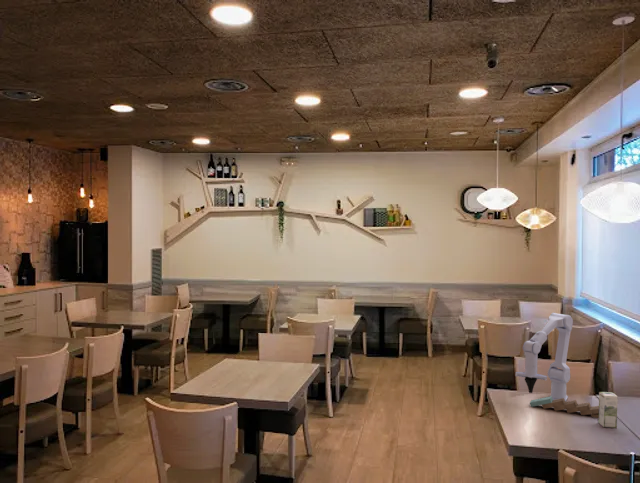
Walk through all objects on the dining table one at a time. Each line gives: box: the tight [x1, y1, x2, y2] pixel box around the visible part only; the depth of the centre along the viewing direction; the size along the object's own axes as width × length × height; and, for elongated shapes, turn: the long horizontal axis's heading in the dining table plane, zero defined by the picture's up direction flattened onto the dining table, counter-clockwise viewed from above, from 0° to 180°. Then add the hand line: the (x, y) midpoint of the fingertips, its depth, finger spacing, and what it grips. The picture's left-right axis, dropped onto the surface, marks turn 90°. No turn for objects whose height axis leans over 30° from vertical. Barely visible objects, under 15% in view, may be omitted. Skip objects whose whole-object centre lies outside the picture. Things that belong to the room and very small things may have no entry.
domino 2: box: [541, 398, 566, 410], centre depth 264 cm, size 5×2×10 cm
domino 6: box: [590, 413, 599, 419], centre depth 253 cm, size 5×2×10 cm
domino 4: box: [565, 402, 592, 414], centre depth 258 cm, size 5×2×10 cm
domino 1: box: [529, 395, 553, 408], centre depth 267 cm, size 5×2×10 cm
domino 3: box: [553, 399, 578, 412], centre depth 261 cm, size 5×2×10 cm
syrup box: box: [597, 391, 619, 429], centre depth 242 cm, size 6×6×14 cm
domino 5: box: [579, 405, 599, 416], centre depth 255 cm, size 5×2×10 cm
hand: (530, 392), depth 269 cm, fingers closed
